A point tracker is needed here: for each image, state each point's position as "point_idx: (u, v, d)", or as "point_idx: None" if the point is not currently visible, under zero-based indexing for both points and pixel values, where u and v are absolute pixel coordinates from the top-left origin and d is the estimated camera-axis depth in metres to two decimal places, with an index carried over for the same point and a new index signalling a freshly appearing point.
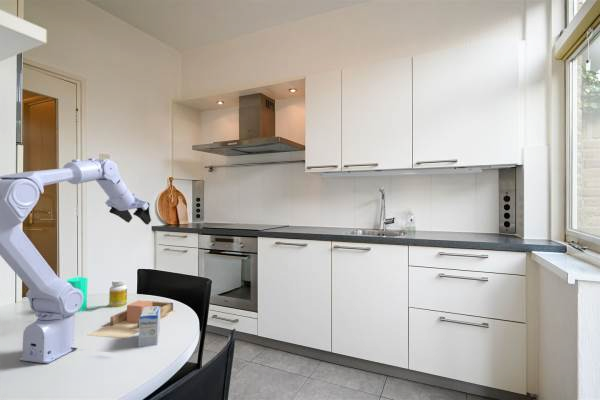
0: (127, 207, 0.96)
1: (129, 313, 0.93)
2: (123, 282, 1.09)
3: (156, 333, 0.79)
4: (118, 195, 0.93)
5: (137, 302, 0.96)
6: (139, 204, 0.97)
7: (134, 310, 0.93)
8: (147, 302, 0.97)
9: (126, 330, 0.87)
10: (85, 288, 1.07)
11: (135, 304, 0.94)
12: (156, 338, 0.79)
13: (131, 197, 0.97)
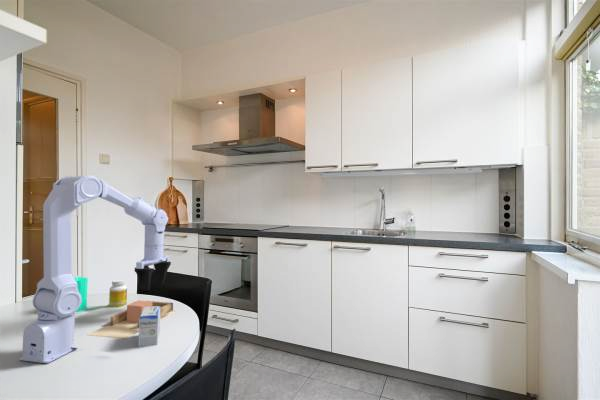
0: (143, 259, 1.00)
1: (129, 313, 0.93)
2: (123, 282, 1.09)
3: (156, 333, 0.79)
4: (152, 244, 0.99)
5: (137, 302, 0.96)
6: None
7: (134, 310, 0.93)
8: (147, 302, 0.97)
9: (126, 330, 0.87)
10: (85, 288, 1.07)
11: (135, 304, 0.94)
12: (156, 338, 0.79)
13: (150, 255, 0.99)
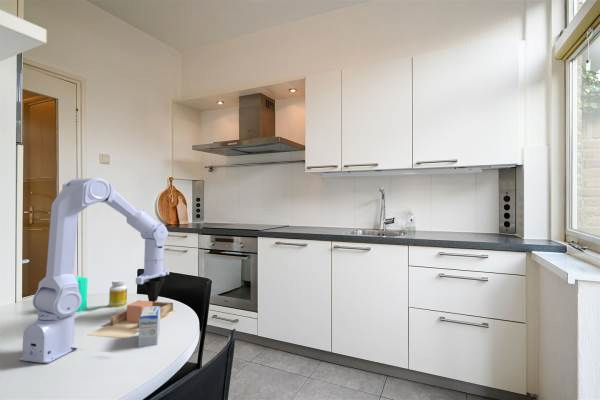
0: (143, 274, 1.00)
1: (129, 313, 0.93)
2: (123, 282, 1.09)
3: (156, 333, 0.79)
4: (152, 259, 0.99)
5: (137, 302, 0.96)
6: None
7: (134, 310, 0.93)
8: (147, 302, 0.97)
9: (126, 330, 0.87)
10: (85, 288, 1.07)
11: (135, 304, 0.94)
12: (156, 338, 0.79)
13: (150, 269, 0.99)
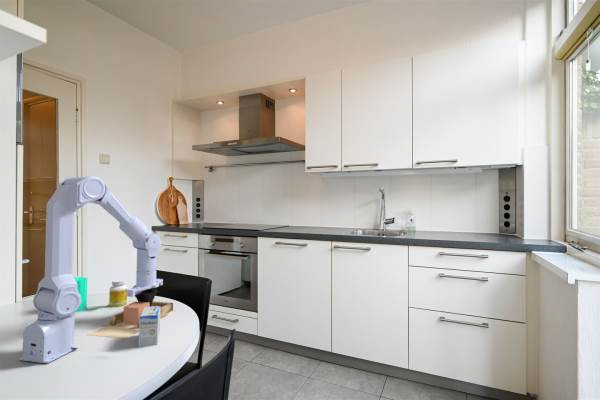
0: (135, 285, 0.96)
1: (126, 315, 0.92)
2: (123, 282, 1.09)
3: (156, 333, 0.79)
4: (144, 270, 0.96)
5: (134, 303, 0.95)
6: None
7: (131, 311, 0.92)
8: (144, 303, 0.95)
9: (126, 330, 0.87)
10: (85, 288, 1.07)
11: (131, 306, 0.93)
12: (156, 338, 0.79)
13: (142, 281, 0.96)
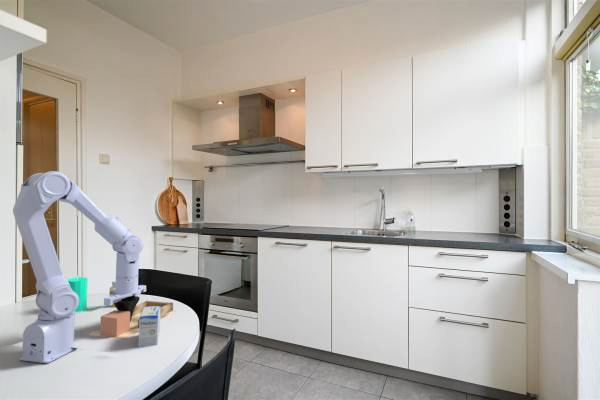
0: (114, 293, 0.88)
1: (103, 325, 0.83)
2: None
3: (156, 333, 0.79)
4: (122, 276, 0.87)
5: (113, 312, 0.86)
6: None
7: (109, 322, 0.83)
8: (124, 312, 0.87)
9: None
10: (85, 288, 1.07)
11: (109, 315, 0.84)
12: (156, 338, 0.79)
13: (122, 288, 0.87)
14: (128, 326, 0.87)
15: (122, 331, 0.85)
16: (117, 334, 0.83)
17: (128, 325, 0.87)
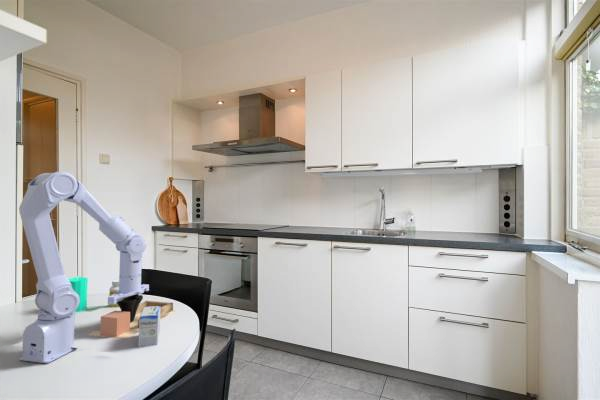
0: None
1: (103, 325, 0.84)
2: None
3: (156, 333, 0.79)
4: (126, 275, 0.89)
5: (113, 313, 0.87)
6: None
7: (109, 322, 0.83)
8: (124, 313, 0.87)
9: None
10: (86, 288, 1.07)
11: (110, 315, 0.84)
12: (156, 338, 0.79)
13: (125, 287, 0.88)
14: (128, 326, 0.87)
15: (122, 331, 0.85)
16: (117, 334, 0.83)
17: (128, 325, 0.87)
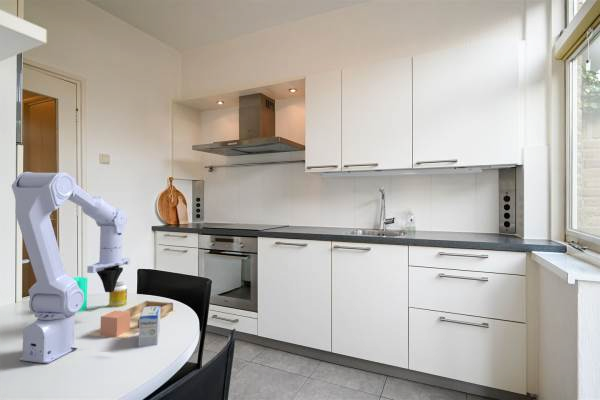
0: (98, 262, 0.94)
1: (103, 325, 0.84)
2: (123, 282, 1.09)
3: (156, 333, 0.79)
4: (112, 246, 0.94)
5: (113, 313, 0.87)
6: None
7: (109, 322, 0.83)
8: (124, 313, 0.87)
9: None
10: (85, 288, 1.07)
11: (110, 315, 0.84)
12: (156, 338, 0.79)
13: (105, 258, 0.93)
14: (128, 326, 0.87)
15: (122, 331, 0.85)
16: (117, 334, 0.83)
17: (128, 325, 0.87)
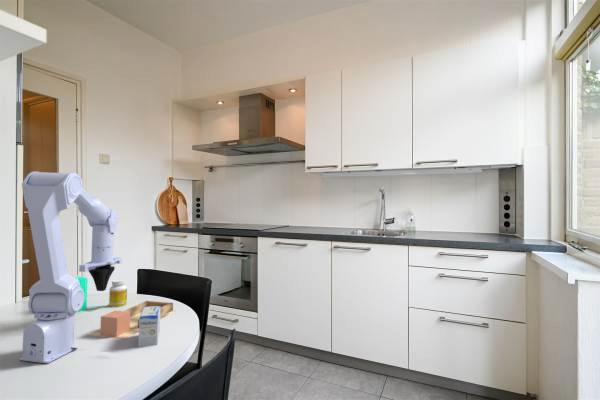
0: None
1: (103, 325, 0.84)
2: (123, 282, 1.09)
3: (156, 333, 0.79)
4: (105, 245, 0.95)
5: (113, 313, 0.87)
6: None
7: (109, 322, 0.83)
8: (124, 313, 0.87)
9: None
10: (85, 288, 1.07)
11: (110, 315, 0.84)
12: (156, 338, 0.79)
13: (97, 257, 0.94)
14: (128, 326, 0.87)
15: (122, 331, 0.85)
16: (117, 334, 0.83)
17: (128, 325, 0.87)
